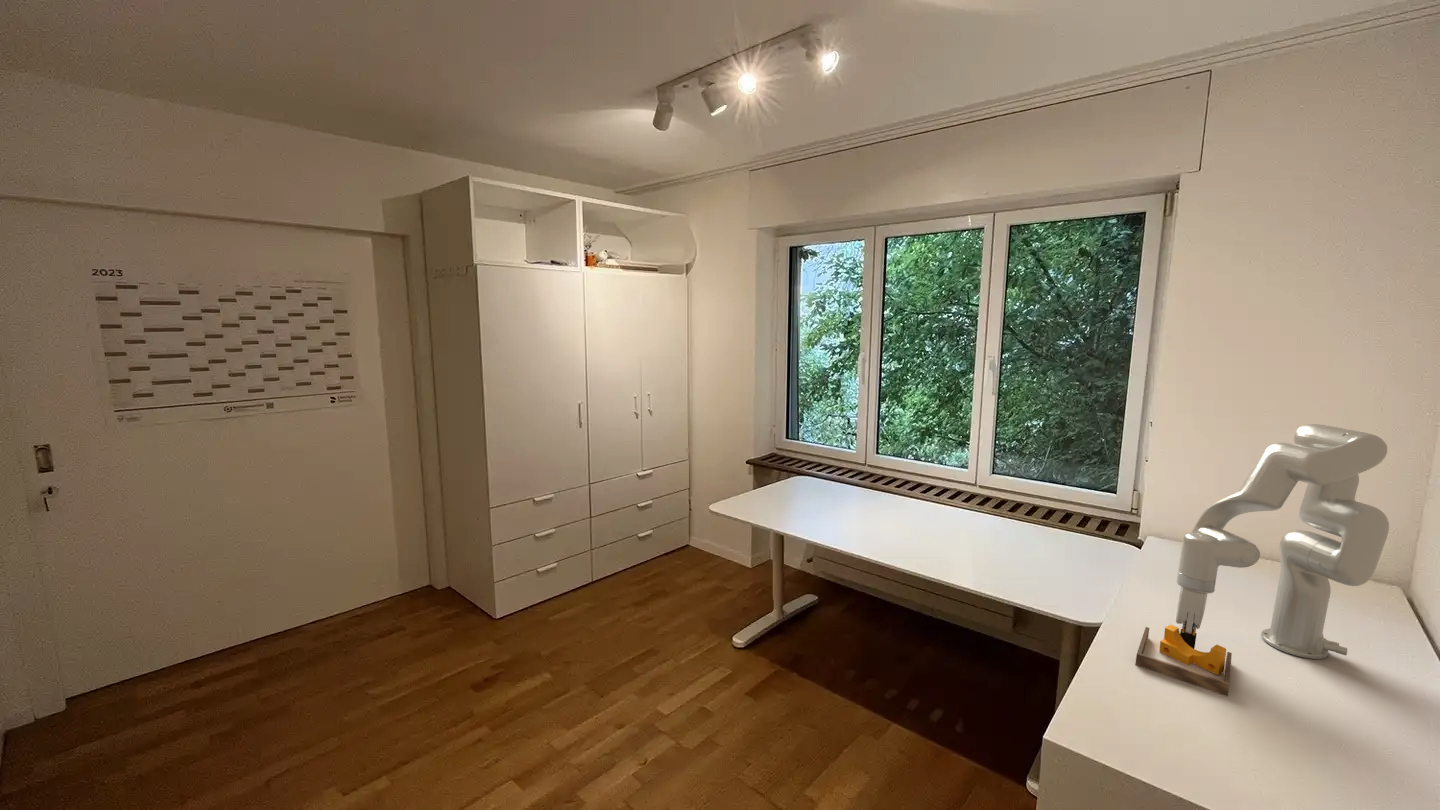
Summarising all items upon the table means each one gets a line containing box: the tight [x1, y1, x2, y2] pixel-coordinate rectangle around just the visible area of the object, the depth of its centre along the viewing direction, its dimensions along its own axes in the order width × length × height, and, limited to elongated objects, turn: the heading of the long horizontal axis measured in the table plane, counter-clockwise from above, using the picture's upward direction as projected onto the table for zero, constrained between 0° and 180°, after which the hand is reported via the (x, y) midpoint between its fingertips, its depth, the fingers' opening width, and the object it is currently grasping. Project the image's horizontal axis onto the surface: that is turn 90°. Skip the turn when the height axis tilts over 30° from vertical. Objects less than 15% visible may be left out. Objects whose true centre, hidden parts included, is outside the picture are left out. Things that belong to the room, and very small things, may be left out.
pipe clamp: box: [1159, 623, 1227, 676], centre depth 144 cm, size 12×4×6 cm, turn 26°
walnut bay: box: [1134, 626, 1233, 697], centre depth 143 cm, size 18×17×3 cm
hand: (1186, 645), depth 149 cm, fingers closed
